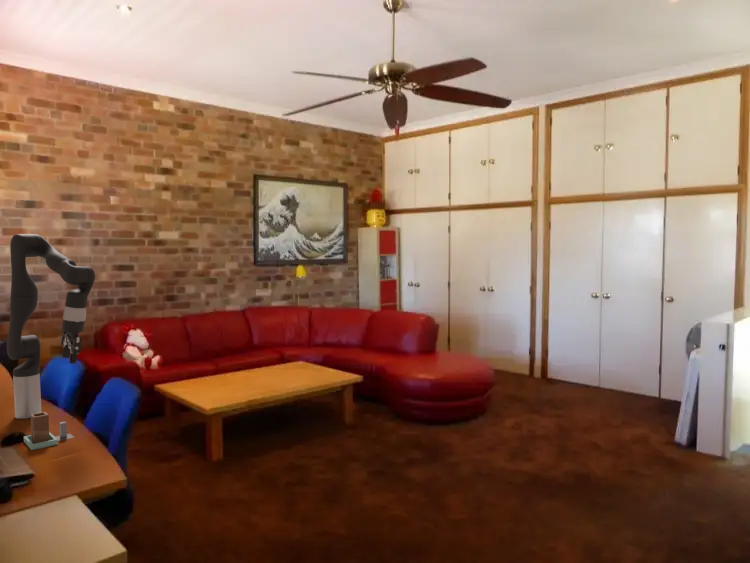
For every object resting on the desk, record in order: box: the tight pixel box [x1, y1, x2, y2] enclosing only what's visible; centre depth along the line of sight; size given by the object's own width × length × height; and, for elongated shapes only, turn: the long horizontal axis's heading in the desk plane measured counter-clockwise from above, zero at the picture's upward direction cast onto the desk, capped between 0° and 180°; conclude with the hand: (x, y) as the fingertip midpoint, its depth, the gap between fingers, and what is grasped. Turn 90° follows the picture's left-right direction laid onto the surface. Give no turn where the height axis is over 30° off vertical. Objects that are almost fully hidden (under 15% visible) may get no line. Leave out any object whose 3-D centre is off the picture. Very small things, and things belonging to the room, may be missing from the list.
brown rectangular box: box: [30, 411, 50, 444], centre depth 196 cm, size 5×5×10 cm
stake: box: [54, 421, 75, 442], centre depth 202 cm, size 6×6×6 cm
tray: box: [23, 431, 59, 451], centre depth 196 cm, size 12×8×2 cm
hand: (68, 360), depth 211 cm, fingers open, 8 cm apart
